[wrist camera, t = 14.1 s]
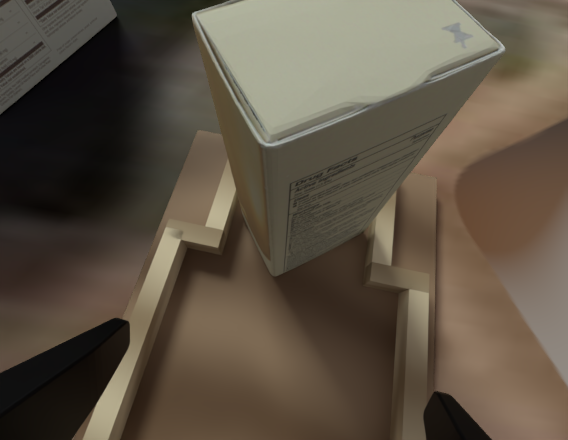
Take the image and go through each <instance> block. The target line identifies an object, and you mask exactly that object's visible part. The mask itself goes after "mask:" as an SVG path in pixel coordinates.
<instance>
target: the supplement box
mask: <svg viewBox="0 0 568 440" xmlns="http://www.w3.org/2000/svg"><path fill="white" fill-rule="evenodd" d="M116 16H117V14H116V12H115V10H114V8H113V6H112V4H111V2H110V0H0V114H1V113H3V112H4V111H5V110H6V109H7V108H9V107H10V106H11V105H12V104H13V103H15V102H16V101H17V100H18V99H19V98H21V97H22V96H23V95H24V94H25V93H26V92H28V91H29V90H30V89H31V88H32V87H34V86H35V85H36V84H37V83H38V82H40V81H41V80H42V79H43V78H44V77H45V76H47V75H48V74H49V73H50V72H51V71H53V70H54V69H55V68H56V67H57V66H59V65H60V64H61V63H62V62H63V61H64V60H66V59H67V58H68V57H69V56H70V55H72V54H73V53H74V52H75V51H76V50H78V49H79V48H80V47H81V46H82V45H84V44H85V43H86V42H87V41H88V40H90V39H91V38H92V37H93V36H94V35H95V34H97V33H98V32H99V31H100V30H101V29H102V28H104V27H105V26H106V25H107V24H108V23H110V22H111V21H112V20H113V19H114V18H115V17H116Z"/></svg>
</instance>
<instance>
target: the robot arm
mask: <svg viewBox="0 0 568 440" xmlns="http://www.w3.org/2000/svg"><path fill="white" fill-rule="evenodd" d="M129 345H130V323H129V321H127V320H124V319H119V318H114V319H111V320H109V321H107V322H105V323H103V324H101V325H99V326H97V327H95V328H93V329H91V330H88V331H86V332H84V333H82V334H80V335H78V336H76V337H74V338H72V339H70V340H68V341H66V342H64V343H62V344H60V345H58V346H55V347H53V348H51V349H49V350H47V351H45V352H43V353H41V354H39V355H37V356H35V357H33V358H31V359H29V360H27V361H24V362H22V363H20V364H18V365H16V366H14V367H12V368H10V369H8V370H6V371H4V372H2V373H0V440H72V438H73V437H74V435H75V434H76V433H77V431H78V430H79V428H80V427H81V425H82V424H83V423H84V421H85V420H86V418H87V417H88V415H89V414H90V413H91V411H92V410H93V408H94V407H95V405H96V404H97V402H98V401H99V399H100V397H101V396H102V394H103V392H104V391H105V389H106V387H107V385H108V384H109V382H110V380H111V378H112V377H113V375H114V373H115V371H116V370H117V368H118V366H119V364H120V363H121V361H122V359H123V357H124V355H125V354H126V352H127V350H128V348H129ZM423 420H424V427H425V434H426V440H492V439H491V438H490V437H489V436H488V435H487V434H486V433H485V432H484V431H483V430H482V428H481V427H480V426H479V425H478V424H477V423H476V422H475V421H474V420H473V419H472V418H471V416H470V415H469V414H468V413H467V412H466V411H465V410H464V409H463V408H462V407H461V406H460V404H459V403H458V402H457V401H456V400H455V399H454V398H453V397H452V396H451V395H449V394H446V393H442V392H438V391H435V392H434V393H433V394H432V396H431V398H430V399H429V401H428V403H427V405H426V407H425V409H424V413H423Z"/></svg>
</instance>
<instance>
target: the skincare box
mask: <svg viewBox="0 0 568 440" xmlns="http://www.w3.org/2000/svg"><path fill="white" fill-rule="evenodd" d="M192 21H193V25H194V29H195V33H196V37H197V40H198V44H199V48H200V52H201V55H202V59H203V63H204V67H205V70H206V74H207V78H208V82H209V86H210V90H211V94H212V98H213V102H214V105H215V109H216V113H217V117H218V121H219V125H220V129H221V133H222V137H223V141H224V145H225V148H226V152H227V156H228V160H229V164H230V168H231V172H232V176H233V179H234V183H235V187H236V191H237V195H238V199H239V203H240V207H241V210H242V214H243V217H244V220H245V222H246V224H247V226H248V229H249V231H250V233H251V235H252V237H253V239H254V241H255V244H256V246H257V248H258V250H259V252H260V254H261V256H262V258H263V260H264V262H265V264H266V266H267V268H268V270H269V272H270V274H271V275H272V276H278V275H280V274H283V273H285V272H287V271H289V270H291V269H294V268H296V267H298V266H300V265H302V264H304V263H306V262H308V261H310V260H312V259H314V258H316V257H318V256H320V255H322V254H324V253H326V252H328V251H330V250H332V249H334V248H335V247H337V246H339V245H341V244H343V243H345V242H347V241H349V240H350V239H352V238H354V237H356V236H358V235H359V234H361V233H363V232H364V231H365V230H366V229H367V227H368V226H369V225H370V224H371V222H372V221H373V220H374V218H375V217H376V216H377V215H378V213H379V212H380V211H381V209H382V208H383V207H384V206H385V204H386V203H387V202H388V200H389V199H390V198H391V197H392V195H393V194H394V193H395V192H396V190H397V189H398V188H399V186H400V185H401V184H402V183H403V181H404V180H405V179H406V177H407V176H408V175H409V174H410V172H411V171H412V170H413V169H414V167H415V166H416V165H417V164H418V162H419V161H420V160H421V158H422V157H423V156H424V155H425V153H426V152H427V151H428V150H429V148H430V147H431V146H432V145H433V143H434V142H435V141H436V139H437V138H438V137H439V135H440V134H441V133H442V132H443V130H444V129H445V128H446V127H447V125H448V124H449V123H450V122H451V120H452V119H453V118H454V116H455V115H456V114H457V112H458V111H459V110H460V109H461V107H462V106H463V105H464V104H465V102H466V101H467V100H468V99H469V97H470V96H471V95H472V93H473V92H474V91H475V90H476V88H477V87H478V86H479V84H480V83H481V82H482V81H483V79H484V78H485V77H486V75H487V74H488V73H489V71H490V70H491V69H492V67H493V66H494V65H495V64H496V63H497V61H498V60H499V59H500V58H501V57H502V55H503V54H504V52H505V47H504V46H503V45H502V44H501V43H500V41H499V40H498V39H496V38H495V37H494V36H493V35H491V34H490V33H489V32H488V31H487V30H485V29H484V27H483V26H482V25H481V24H480V23H479V22H478V21H477V20H475V19H474V18H473V16H471V15H470V14H469V13H468V12H467V11H466V10H465V9H464V8H463V7H462V6H461V5H460V4H459V3H458V2H456V1H455V0H231V1H228V2H225V3H223V4H219V5H216V6H213V7H210V8H207V9H203V10H200V11H197V12H194V13H193V14H192Z"/></svg>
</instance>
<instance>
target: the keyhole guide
mask: <svg viewBox="0 0 568 440" xmlns="http://www.w3.org/2000/svg"><path fill="white" fill-rule="evenodd" d="M436 191H437V178H436V177H431V176H426V175H421V174H416V173H411V172H410V174H409V175H408V176H407V177H406V179H405V180H404V181H403V183H402V184H401V185H400V186H399V188H398V189H397V190H396V192H395V193H394V194H393V195H392V197H391V198H390V199H389V200H388V202H387V203H386V204H385V206H384V207H383V208H382V209H381V211H380V212H379V213H378V215H377V216H376V217H375V218H374V220H373V221H372V222H371V224H370V225H369V226H368V227H367V229H366V230H365V231H364V232H363V233H361V234H359V235H358V236H356V237H354V238H352V239H350V240H349V241H347V242H345V243H343V244H341V245H339V246H337V247H335V248H334V249H332V250H330V251H328V252H326V253H324V254H322V255H320V256H318V257H316V258H314V259H312V260H310V261H308V262H306V263H304V264H302V265H300V266H298V267H296V268H294V269H291V270H289V271H287V272H285V273H283V274H280V275H278V276H272V275H271V274H270V272H269V270H268V268H267V266H266V264H265V262H264V260H263V258H262V256H261V254H260V252H259V250H258V248H257V246H256V244H255V241H254V239H253V237H252V235H251V233H250V231H249V229H248V226H247V224H246V222H245V220H244V217H243V214H242V210H241V207H240V203H239V199H238V195H237V191H236V187H235V183H234V179H233V176H232V172H231V168H230V164H229V160H228V156H227V152H226V148H225V145H224V141H223V137H222V135H221V134H216V133H211V132H206V131H201V130H198V131H197V133H196V136H195V138H194V141H193V143H192V146H191V148H190V151H189V153H188V156H187V158H186V161H185V163H184V166H183V168H182V171H181V173H180V176H179V178H178V181H177V183H176V186H175V188H174V191H173V193H172V195H171V198H170V200H169V203H168V205H167V208H166V210H165V213H164V215H163V218H162V220H161V223H160V225H159V228H158V230H157V233H156V235H155V238H154V240H153V243H152V245H151V248H150V250H149V253H148V255H147V258H146V260H145V263H144V265H143V268H142V270H141V273H140V275H139V278H138V280H137V283H136V285H135V288H134V290H133V293H132V295H131V298H130V300H129V303H128V305H127V308H126V310H125V313H124V315H123V318H122V319H124V320H127V321H129V323H130V345H129V348H128V350H127V352H126V354H125V355H124V357H123V359H122V361H121V363H120V364H119V366H118V368H117V370H116V371H115V373H114V375H113V377H112V378H111V380H110V382H109V384H108V385H107V387H106V389H105V391H104V392H103V394H102V396H101V397H100V399H99V401H98V402H97V404H96V405H95V407H94V408H93V410H92V411H91V413H90V414H89V415H88V417H87V418H86V420H85V421H84V423H83V424H82V425H81V427H80V428H79V430H78V431H77V433H76V435H75V437H74V440H426V434H425V427H424V420H423V413H424V409H425V407H426V405H427V403H428V401H429V399H430V398H431V396H432V394H433V393H434V334H435V263H436Z"/></svg>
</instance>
